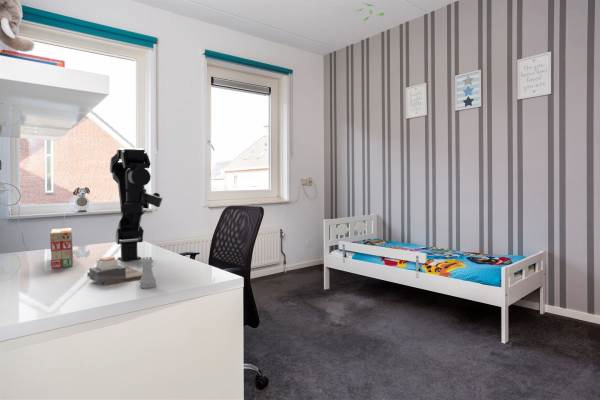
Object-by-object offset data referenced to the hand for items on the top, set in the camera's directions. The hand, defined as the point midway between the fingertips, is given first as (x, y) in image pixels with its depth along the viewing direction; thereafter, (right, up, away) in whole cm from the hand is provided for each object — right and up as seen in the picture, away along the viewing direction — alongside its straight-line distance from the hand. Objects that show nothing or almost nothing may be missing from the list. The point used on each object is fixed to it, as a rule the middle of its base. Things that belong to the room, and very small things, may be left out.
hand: (136, 231), depth 130 cm
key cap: (0, -11, -19) cm, 22 cm away
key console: (-1, -13, -14) cm, 19 cm away
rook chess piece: (+13, -13, -24) cm, 31 cm away
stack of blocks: (-31, -12, +10) cm, 35 cm away
